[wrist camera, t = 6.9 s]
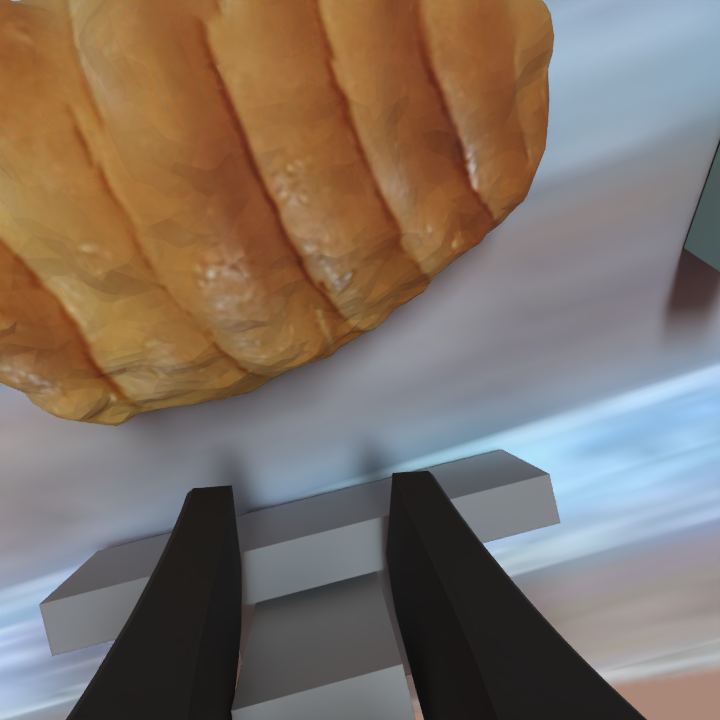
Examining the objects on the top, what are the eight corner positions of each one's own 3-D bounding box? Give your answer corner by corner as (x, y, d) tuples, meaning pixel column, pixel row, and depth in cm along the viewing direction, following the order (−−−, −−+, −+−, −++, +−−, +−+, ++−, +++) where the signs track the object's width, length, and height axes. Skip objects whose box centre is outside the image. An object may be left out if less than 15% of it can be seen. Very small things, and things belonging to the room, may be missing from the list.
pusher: (501, 449, 15) (628, 515, 9) (537, 604, 15) (686, 774, 9) (97, 551, 14) (-63, 697, 8) (138, 712, 14) (9, 975, 8)
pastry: (473, -203, 8) (606, -302, 5) (546, 228, 12) (648, 324, 9) (-123, 60, 9) (-329, 115, 6) (126, 389, 13) (83, 529, 10)
